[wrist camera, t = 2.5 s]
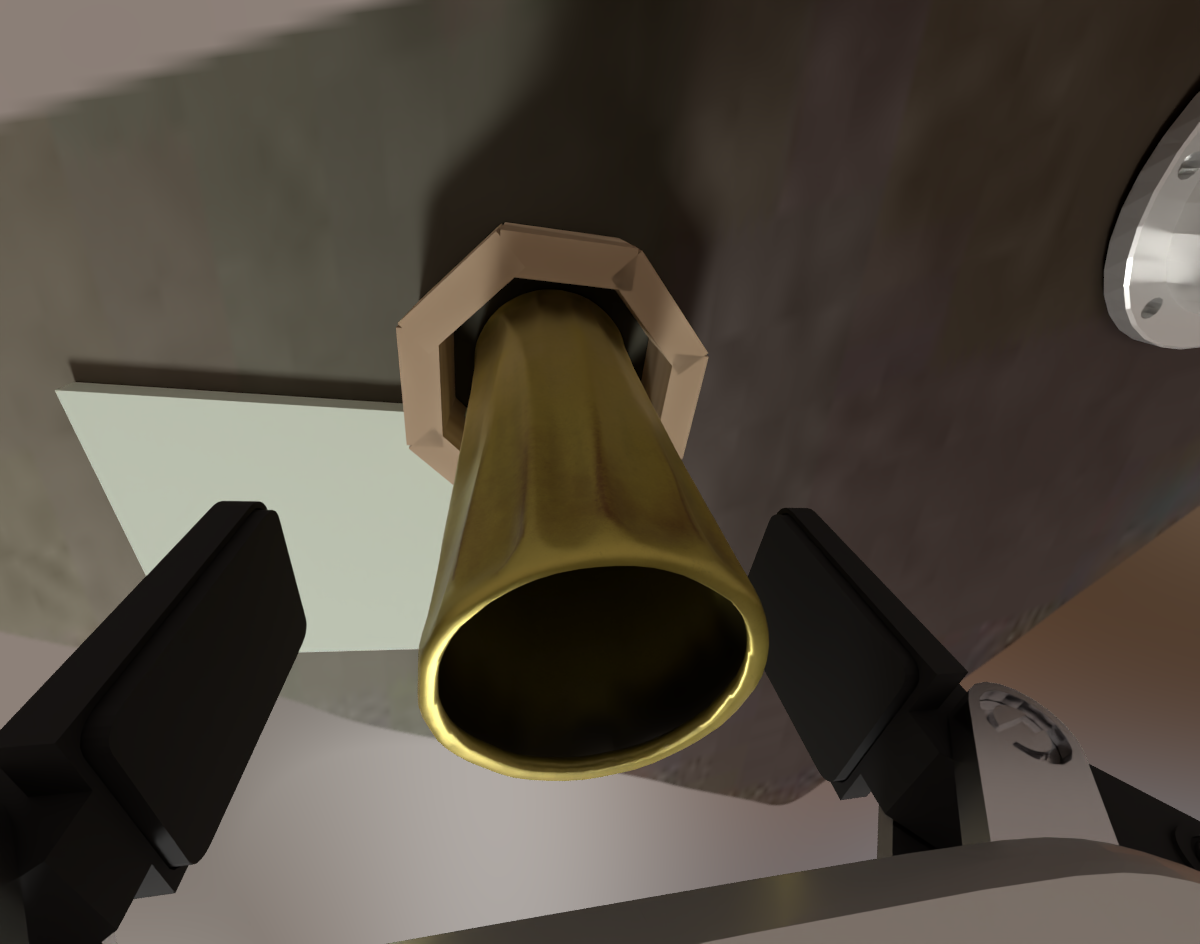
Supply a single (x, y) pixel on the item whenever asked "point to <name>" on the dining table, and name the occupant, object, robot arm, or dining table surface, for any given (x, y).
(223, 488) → the mat
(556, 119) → the dining table surface
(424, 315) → the ring
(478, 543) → the vase
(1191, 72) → the dining table surface
